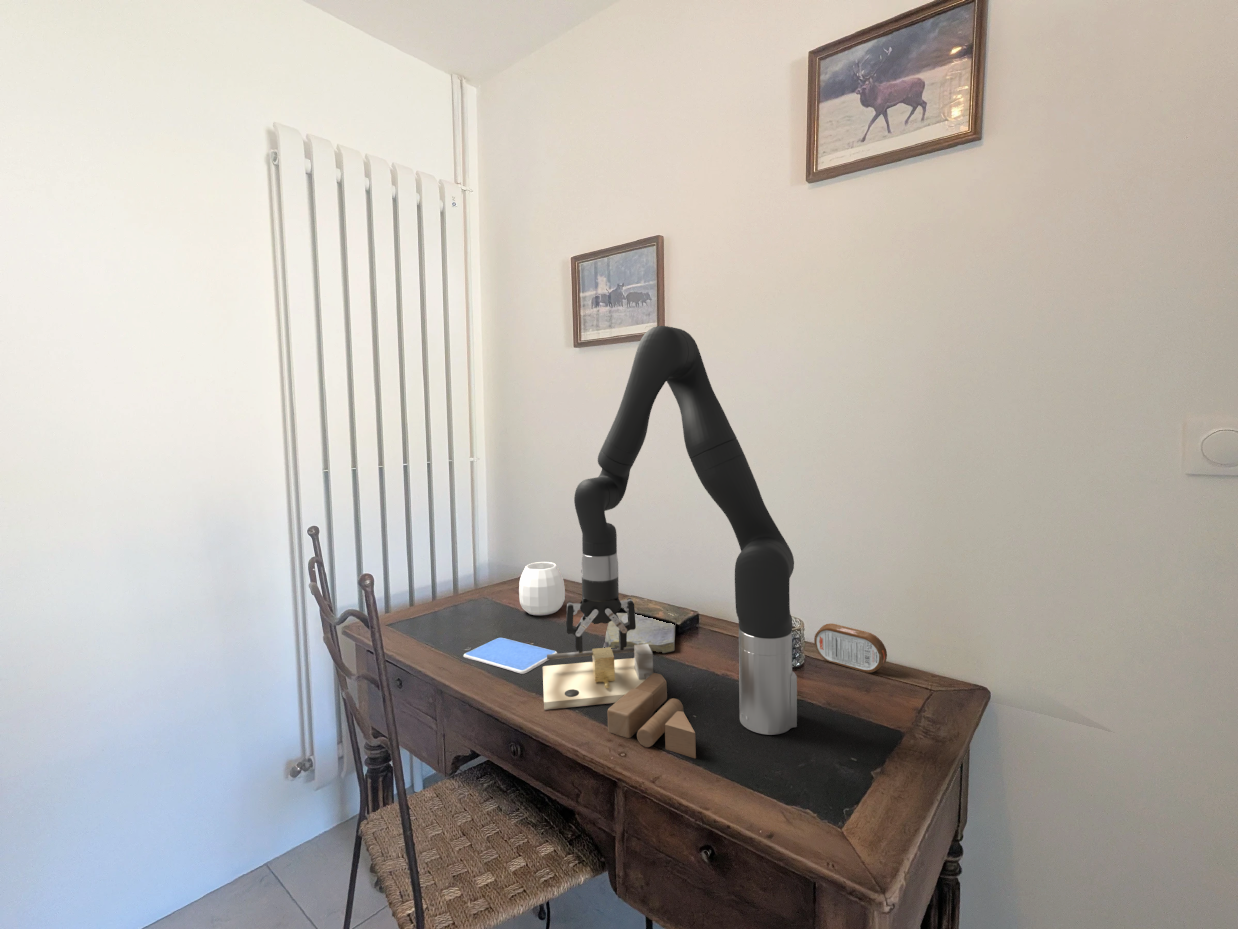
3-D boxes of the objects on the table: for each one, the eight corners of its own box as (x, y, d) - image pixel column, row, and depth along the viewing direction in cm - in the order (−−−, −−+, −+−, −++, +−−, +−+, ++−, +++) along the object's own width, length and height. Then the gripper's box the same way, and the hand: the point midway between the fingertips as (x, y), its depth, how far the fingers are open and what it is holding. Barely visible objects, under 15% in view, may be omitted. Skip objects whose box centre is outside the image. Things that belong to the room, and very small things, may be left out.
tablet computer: (461, 659, 135) (461, 653, 135) (499, 640, 145) (499, 635, 145) (522, 677, 124) (522, 671, 124) (559, 656, 135) (559, 650, 135)
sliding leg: (611, 669, 121) (610, 647, 121) (617, 688, 113) (616, 664, 113) (592, 671, 121) (592, 648, 120) (597, 690, 112) (596, 666, 112)
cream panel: (646, 663, 128) (645, 634, 128) (661, 698, 112) (660, 664, 112) (542, 672, 125) (541, 642, 124) (544, 709, 109) (542, 675, 109)
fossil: (601, 659, 134) (675, 656, 132) (600, 640, 134) (673, 636, 132) (612, 629, 154) (676, 626, 152) (610, 613, 154) (674, 609, 152)
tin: (887, 673, 120) (887, 635, 120) (882, 679, 118) (882, 639, 117) (818, 654, 131) (818, 618, 130) (812, 659, 128) (812, 622, 128)
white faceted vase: (563, 619, 158) (561, 571, 157) (515, 620, 158) (513, 572, 157) (567, 603, 171) (566, 559, 170) (524, 604, 171) (522, 560, 170)
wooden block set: (603, 706, 100) (651, 666, 115) (604, 737, 100) (652, 693, 116) (692, 731, 91) (731, 684, 106) (693, 764, 92) (732, 713, 107)
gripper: (566, 581, 112) (567, 661, 113) (637, 577, 114) (638, 655, 116) (564, 570, 119) (565, 645, 121) (631, 567, 121) (631, 641, 123)
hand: (601, 650), depth 118 cm, fingers open, 8 cm apart
